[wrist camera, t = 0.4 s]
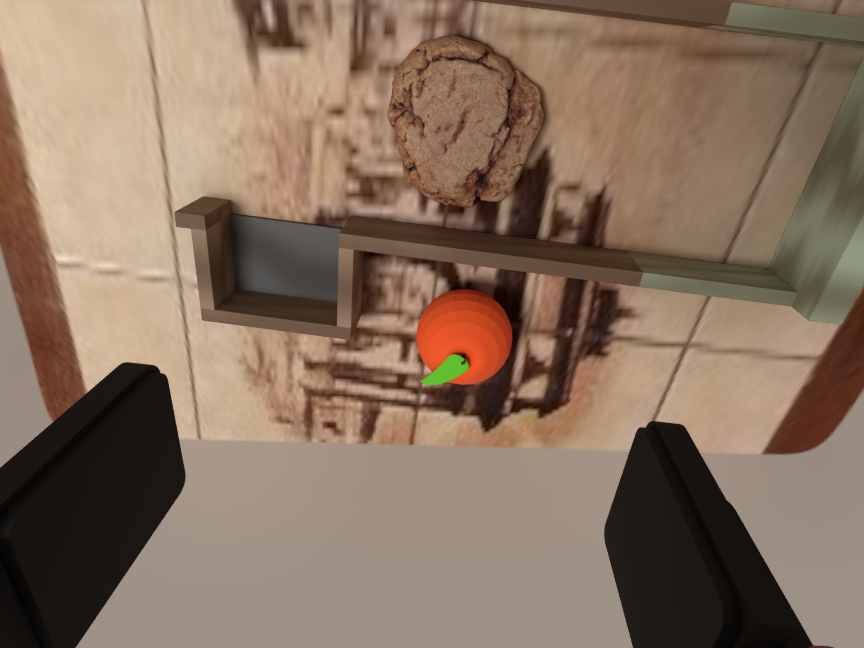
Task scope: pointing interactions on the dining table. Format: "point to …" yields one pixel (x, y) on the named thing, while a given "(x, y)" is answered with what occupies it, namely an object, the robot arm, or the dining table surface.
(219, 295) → the channel
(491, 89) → the cookie
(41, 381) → the dining table surface
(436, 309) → the clementine
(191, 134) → the dining table surface
